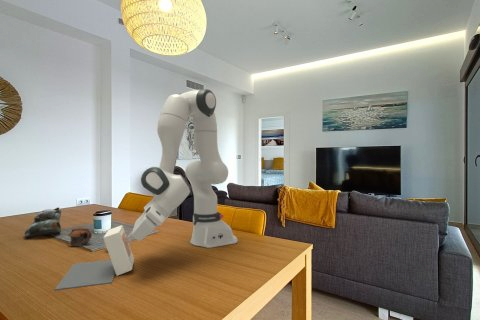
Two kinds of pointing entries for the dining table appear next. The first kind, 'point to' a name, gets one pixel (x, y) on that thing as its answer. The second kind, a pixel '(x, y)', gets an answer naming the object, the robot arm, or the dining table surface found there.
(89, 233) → the pottery mug
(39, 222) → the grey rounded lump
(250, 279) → the dining table surface
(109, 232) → the cream block
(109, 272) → the mat
